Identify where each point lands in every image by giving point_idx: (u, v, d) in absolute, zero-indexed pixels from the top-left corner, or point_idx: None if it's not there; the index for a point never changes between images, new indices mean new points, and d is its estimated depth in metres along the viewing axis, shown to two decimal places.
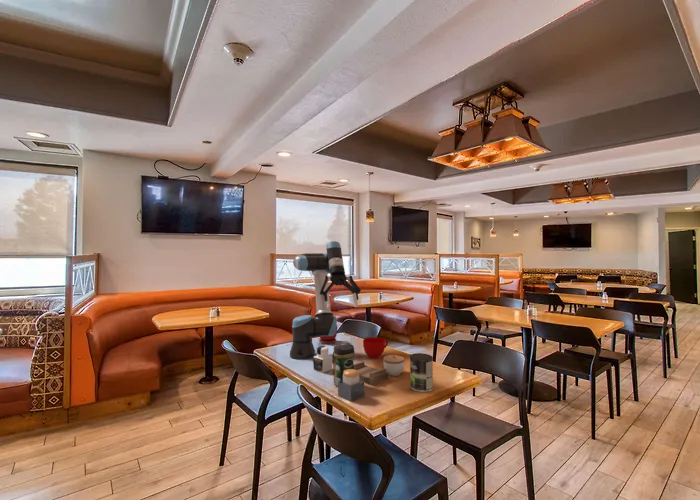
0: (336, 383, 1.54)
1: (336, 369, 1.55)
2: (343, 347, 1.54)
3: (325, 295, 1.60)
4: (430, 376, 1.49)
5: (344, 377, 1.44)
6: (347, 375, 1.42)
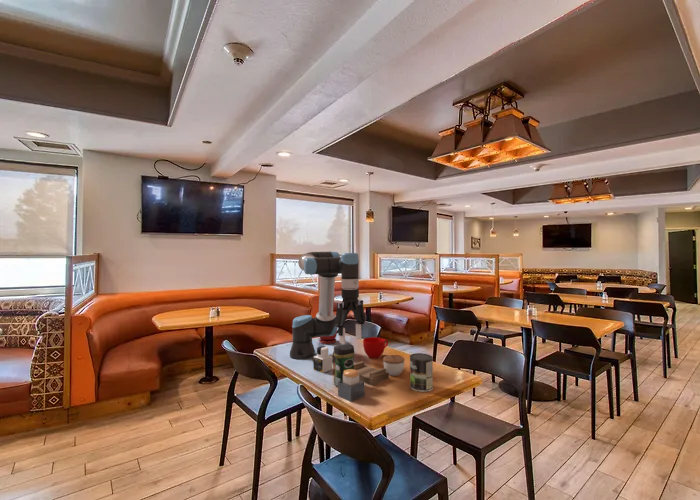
0: (336, 383, 1.54)
1: (336, 369, 1.55)
2: (343, 347, 1.54)
3: (341, 330, 1.40)
4: (430, 376, 1.49)
5: (344, 377, 1.44)
6: (347, 375, 1.42)
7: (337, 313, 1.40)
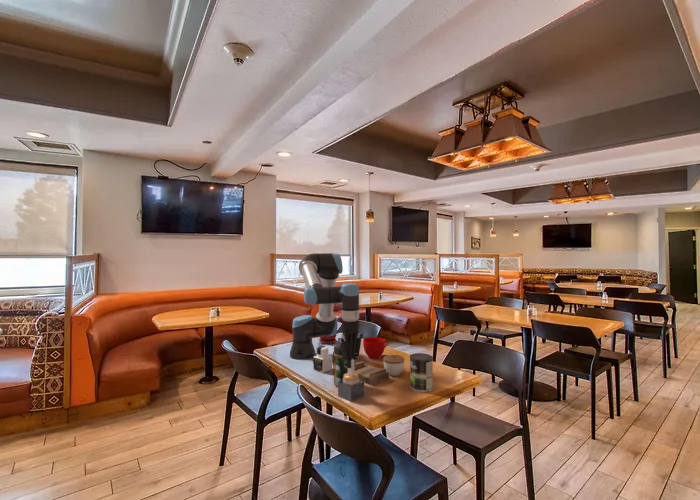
0: (336, 383, 1.54)
1: (336, 369, 1.55)
2: None
3: (349, 362, 1.43)
4: (430, 376, 1.49)
5: (344, 381, 1.44)
6: (347, 379, 1.41)
7: (341, 347, 1.41)
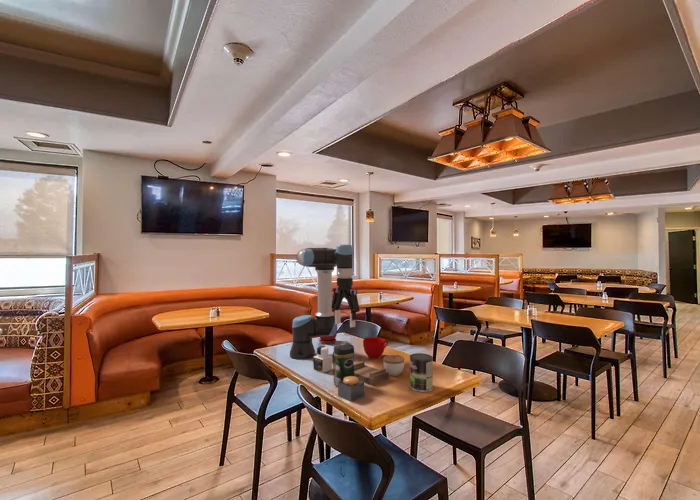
0: (336, 383, 1.54)
1: (336, 369, 1.55)
2: (343, 347, 1.54)
3: (335, 311, 1.61)
4: (430, 376, 1.49)
5: None
6: (347, 382, 1.41)
7: None
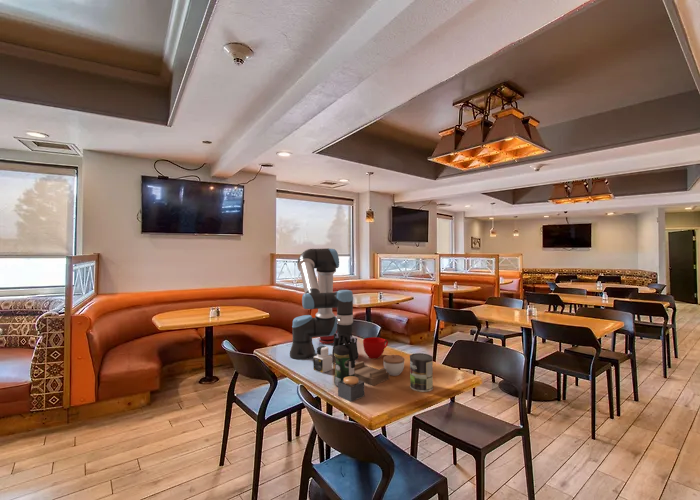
0: (336, 383, 1.54)
1: (336, 369, 1.55)
2: (343, 348, 1.54)
3: None
4: (430, 376, 1.49)
5: None
6: (347, 382, 1.41)
7: None
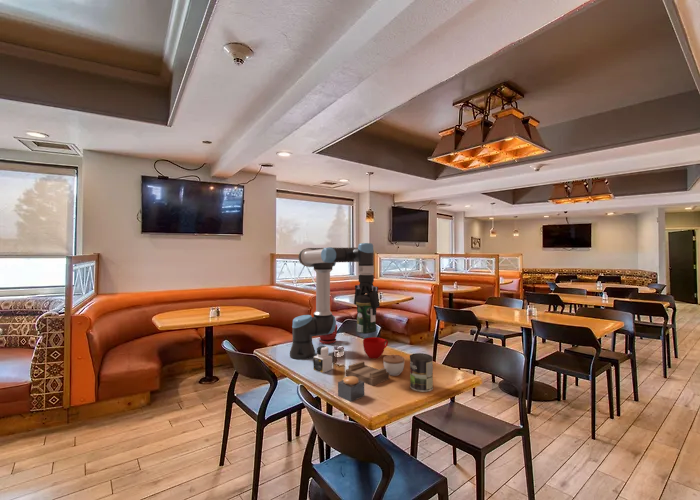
0: (358, 330, 1.63)
1: (358, 317, 1.63)
2: (365, 296, 1.63)
3: None
4: (430, 376, 1.49)
5: None
6: (347, 382, 1.41)
7: None
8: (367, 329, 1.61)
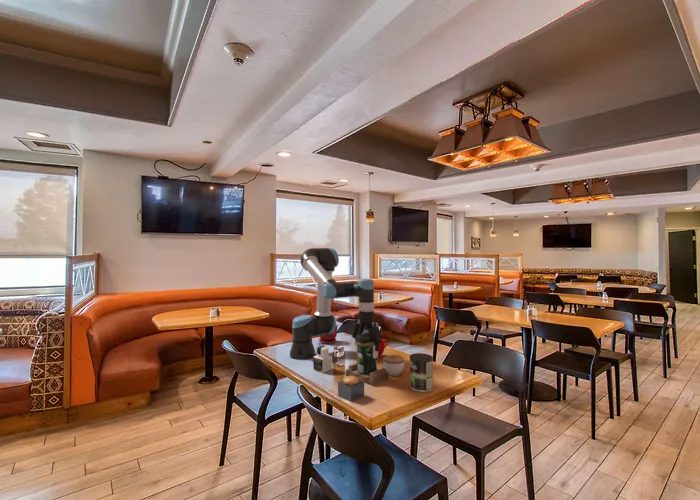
0: (359, 370, 1.62)
1: (359, 357, 1.63)
2: (365, 336, 1.62)
3: None
4: (430, 376, 1.49)
5: None
6: (347, 382, 1.41)
7: None
8: (367, 369, 1.61)
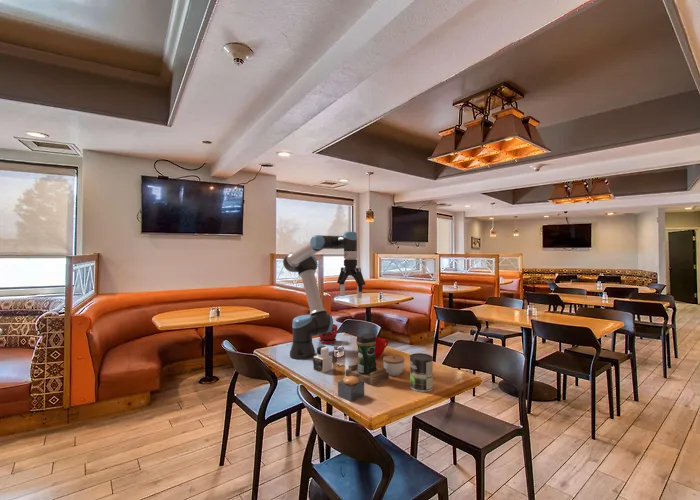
0: (359, 370, 1.63)
1: (359, 357, 1.63)
2: (365, 336, 1.63)
3: (340, 285, 1.94)
4: (430, 376, 1.49)
5: None
6: (347, 382, 1.41)
7: None
8: (367, 369, 1.61)
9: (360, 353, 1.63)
